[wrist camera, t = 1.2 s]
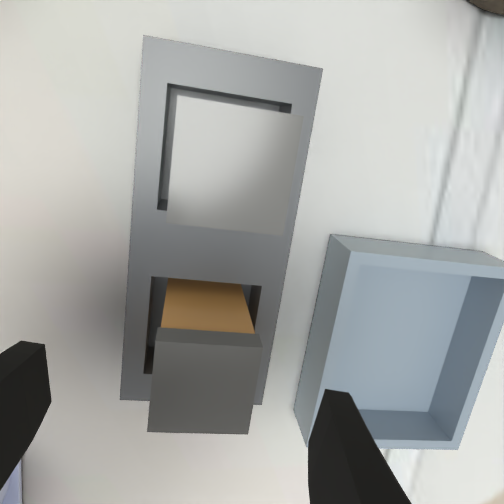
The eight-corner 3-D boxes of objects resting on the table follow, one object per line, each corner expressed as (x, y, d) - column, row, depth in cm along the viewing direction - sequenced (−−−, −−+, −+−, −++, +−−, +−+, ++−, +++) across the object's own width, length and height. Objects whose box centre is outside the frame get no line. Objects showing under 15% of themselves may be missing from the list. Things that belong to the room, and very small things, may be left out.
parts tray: (429, 414, 27) (457, 449, 24) (293, 409, 25) (306, 447, 22) (482, 251, 23) (522, 269, 21) (330, 234, 22) (350, 251, 19)
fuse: (253, 197, 20) (282, 235, 14) (175, 187, 19) (165, 222, 13) (265, 117, 19) (303, 116, 12) (182, 104, 18) (177, 95, 12)
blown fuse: (231, 341, 22) (248, 434, 16) (160, 337, 22) (147, 432, 15) (241, 277, 21) (263, 347, 15) (167, 270, 21) (155, 341, 14)
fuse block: (253, 371, 24) (261, 404, 21) (128, 364, 23) (119, 399, 20) (303, 76, 19) (322, 68, 16) (151, 48, 18) (143, 35, 15)
